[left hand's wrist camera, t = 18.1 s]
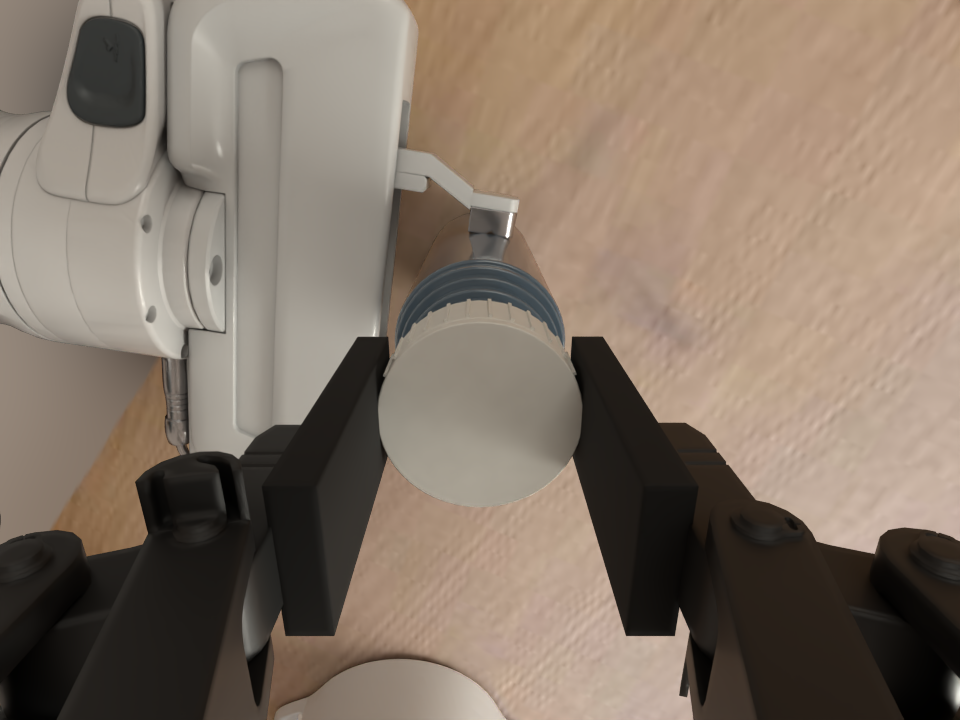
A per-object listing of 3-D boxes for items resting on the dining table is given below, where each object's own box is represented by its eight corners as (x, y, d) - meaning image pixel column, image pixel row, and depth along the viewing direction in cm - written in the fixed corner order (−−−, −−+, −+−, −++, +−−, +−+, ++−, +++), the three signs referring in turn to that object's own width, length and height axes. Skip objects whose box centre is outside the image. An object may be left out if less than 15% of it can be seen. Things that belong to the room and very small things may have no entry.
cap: (609, 354, 14) (627, 383, 12) (512, 495, 15) (516, 539, 14) (442, 261, 13) (436, 278, 11) (356, 419, 15) (339, 456, 13)
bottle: (434, 315, 30) (381, 512, 14) (424, 215, 28) (350, 308, 12) (532, 309, 30) (593, 500, 14) (528, 208, 28) (594, 292, 12)
